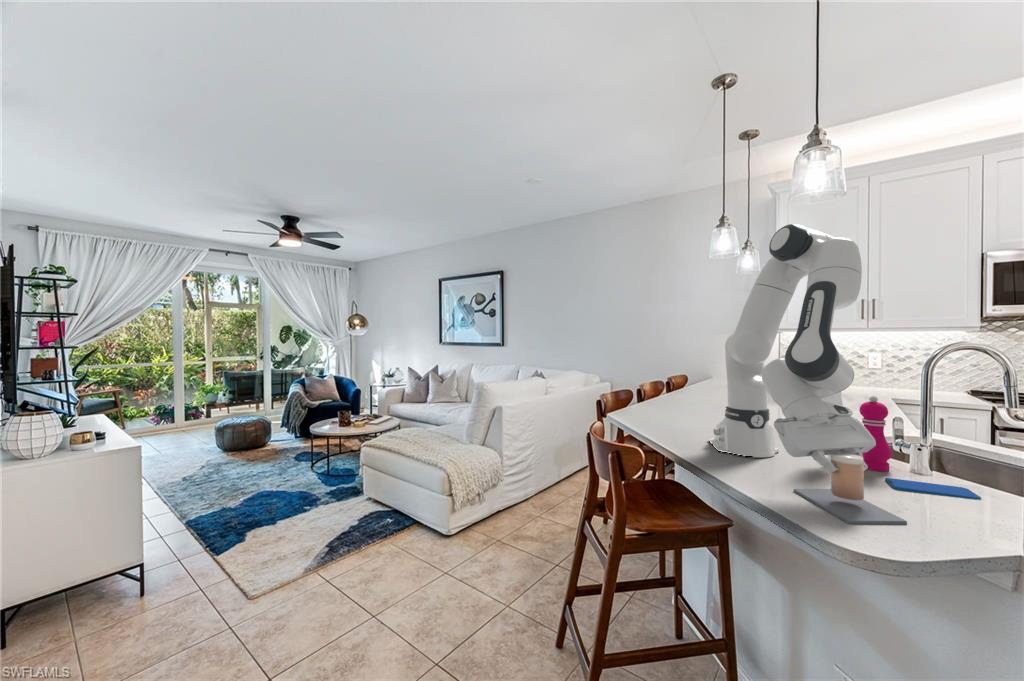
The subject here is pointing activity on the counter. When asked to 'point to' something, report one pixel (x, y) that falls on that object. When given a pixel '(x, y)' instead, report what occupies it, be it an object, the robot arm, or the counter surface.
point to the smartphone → (931, 488)
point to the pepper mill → (876, 434)
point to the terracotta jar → (848, 476)
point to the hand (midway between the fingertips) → (849, 470)
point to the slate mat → (849, 508)
